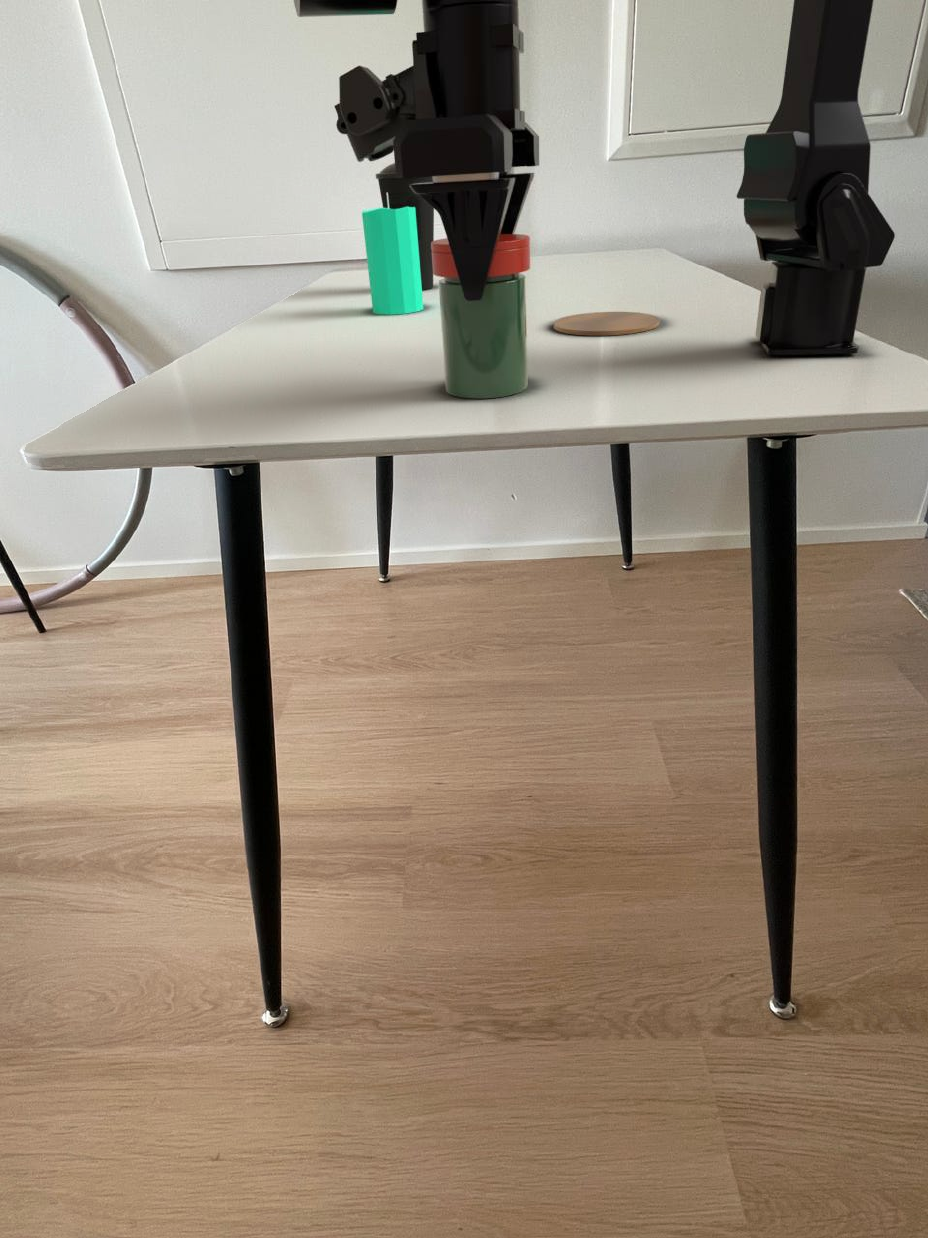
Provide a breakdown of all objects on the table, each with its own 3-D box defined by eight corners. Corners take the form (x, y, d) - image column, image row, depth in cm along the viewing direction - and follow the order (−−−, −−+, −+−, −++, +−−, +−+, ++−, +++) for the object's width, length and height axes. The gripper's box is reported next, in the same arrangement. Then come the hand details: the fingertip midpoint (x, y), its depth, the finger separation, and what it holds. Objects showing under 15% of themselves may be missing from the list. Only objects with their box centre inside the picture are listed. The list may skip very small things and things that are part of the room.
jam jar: (531, 377, 60) (529, 245, 56) (522, 398, 55) (519, 255, 51) (454, 378, 61) (446, 249, 57) (438, 399, 56) (428, 259, 52)
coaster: (657, 314, 80) (657, 309, 79) (660, 334, 71) (661, 329, 71) (557, 317, 81) (557, 313, 81) (549, 337, 73) (549, 332, 73)
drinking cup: (454, 284, 107) (444, 109, 97) (422, 293, 102) (407, 108, 92) (409, 283, 111) (394, 114, 101) (375, 291, 106) (356, 114, 96)
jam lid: (444, 266, 58) (442, 236, 57) (535, 263, 57) (535, 232, 56) (423, 279, 52) (420, 246, 51) (523, 275, 51) (523, 241, 50)
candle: (416, 313, 89) (406, 191, 83) (365, 315, 90) (351, 195, 84) (429, 304, 94) (420, 189, 88) (381, 306, 95) (368, 192, 89)
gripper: (383, 41, 57) (404, 277, 65) (284, 1, 41) (327, 319, 49) (539, 27, 55) (540, 272, 62) (497, -22, 39) (507, 315, 47)
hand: (482, 292), depth 55 cm, fingers closed on jam lid, 6 cm apart
